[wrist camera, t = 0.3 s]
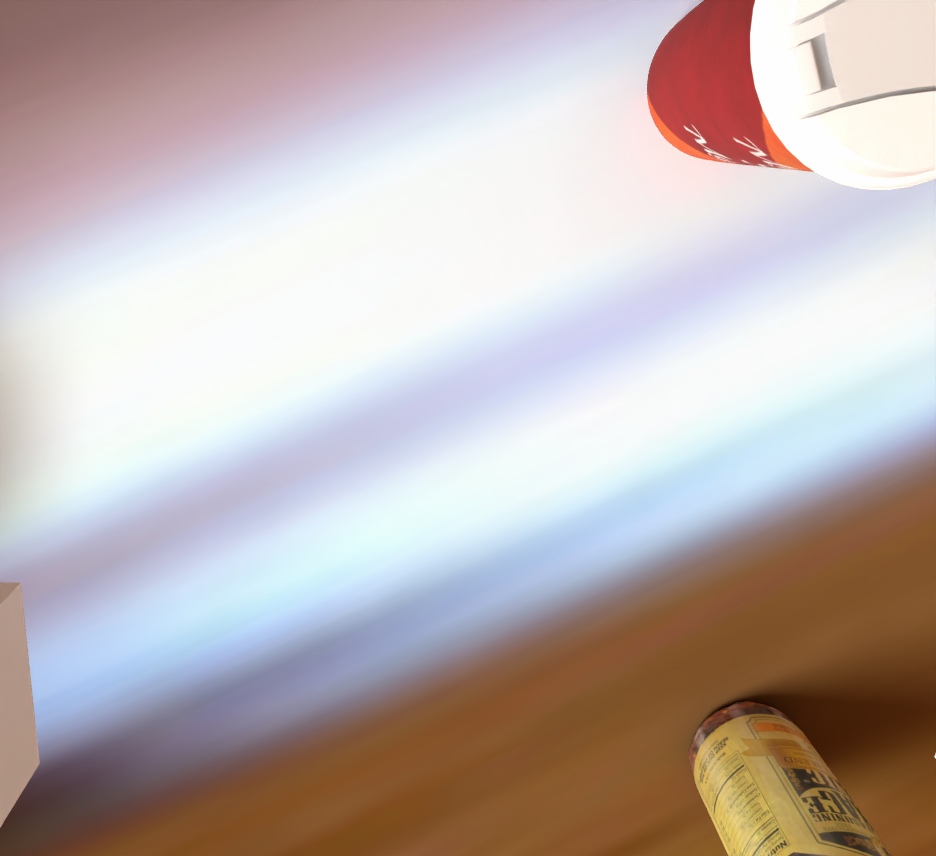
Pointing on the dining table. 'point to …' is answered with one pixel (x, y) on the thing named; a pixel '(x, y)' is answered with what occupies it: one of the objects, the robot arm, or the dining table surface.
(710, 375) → the dining table surface
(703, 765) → the sauce bottle
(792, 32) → the coffee cup
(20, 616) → the robot arm
